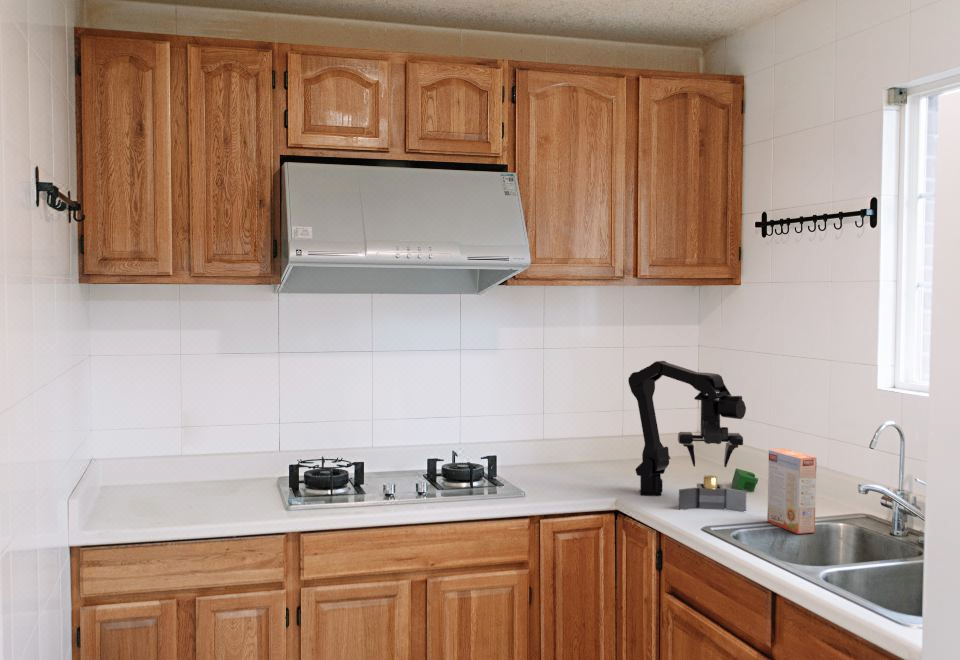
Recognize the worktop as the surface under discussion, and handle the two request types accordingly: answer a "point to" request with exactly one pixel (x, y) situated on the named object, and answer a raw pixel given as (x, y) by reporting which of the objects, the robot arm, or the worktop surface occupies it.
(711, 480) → the pin
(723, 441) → the robot arm
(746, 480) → the clamp
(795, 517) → the cracker box
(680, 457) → the worktop surface
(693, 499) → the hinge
